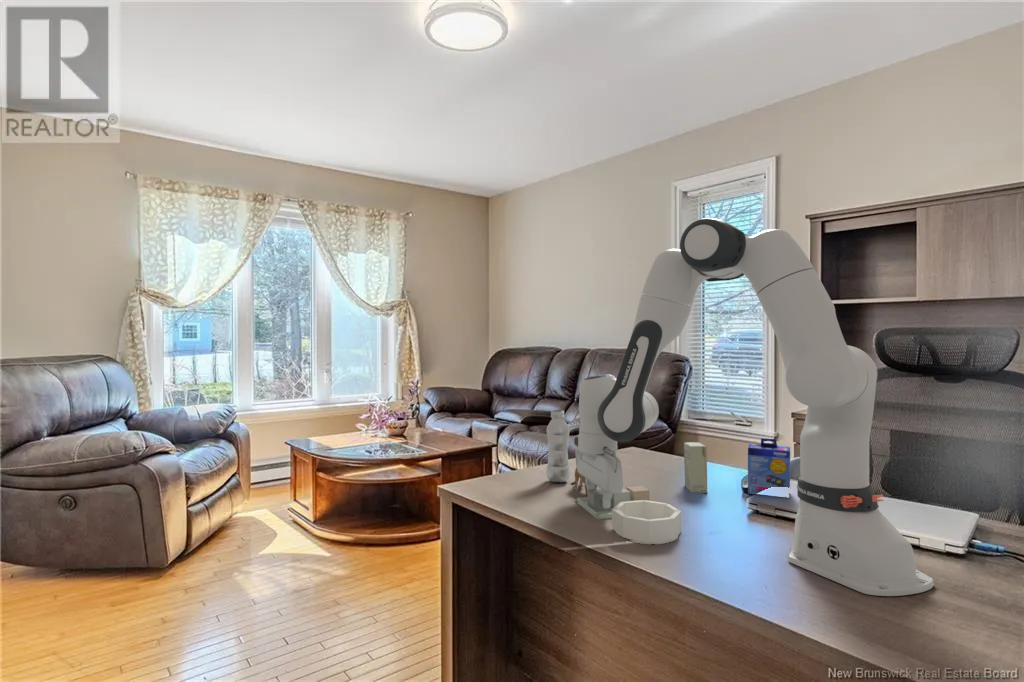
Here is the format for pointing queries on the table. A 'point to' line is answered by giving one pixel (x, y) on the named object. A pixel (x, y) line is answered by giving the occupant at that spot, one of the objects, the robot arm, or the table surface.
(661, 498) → the table surface
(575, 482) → the lion figurine
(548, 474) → the plastic bottle
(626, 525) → the bowl
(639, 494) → the tan cube
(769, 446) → the ink cartridge box
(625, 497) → the pale grey cube
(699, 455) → the skincare box
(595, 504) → the gray cube
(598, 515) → the tray
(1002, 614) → the table surface
